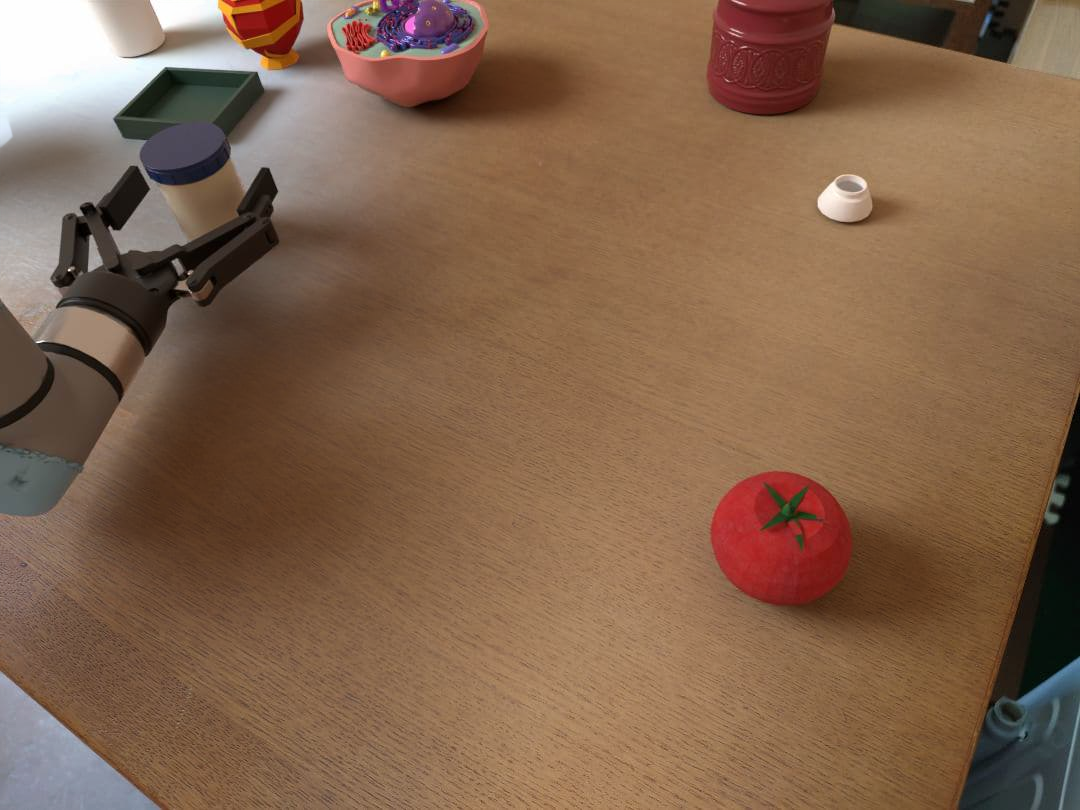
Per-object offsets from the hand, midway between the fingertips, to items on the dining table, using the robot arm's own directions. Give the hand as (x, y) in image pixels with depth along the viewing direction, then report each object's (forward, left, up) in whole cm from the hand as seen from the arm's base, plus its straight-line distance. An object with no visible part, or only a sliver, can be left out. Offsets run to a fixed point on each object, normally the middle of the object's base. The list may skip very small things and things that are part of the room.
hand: (204, 178), depth 76 cm
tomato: (+56, -28, -7) cm, 63 cm away
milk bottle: (-34, +37, -7) cm, 51 cm away
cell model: (+11, +29, -7) cm, 32 cm away
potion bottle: (-11, +35, -7) cm, 37 cm away
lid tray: (-16, +21, -7) cm, 27 cm away
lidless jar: (+61, +12, -7) cm, 63 cm away
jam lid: (0, -1, +4) cm, 4 cm away
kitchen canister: (+52, +34, -7) cm, 63 cm away
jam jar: (0, -1, -7) cm, 7 cm away
